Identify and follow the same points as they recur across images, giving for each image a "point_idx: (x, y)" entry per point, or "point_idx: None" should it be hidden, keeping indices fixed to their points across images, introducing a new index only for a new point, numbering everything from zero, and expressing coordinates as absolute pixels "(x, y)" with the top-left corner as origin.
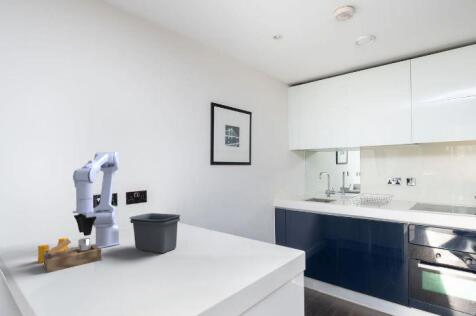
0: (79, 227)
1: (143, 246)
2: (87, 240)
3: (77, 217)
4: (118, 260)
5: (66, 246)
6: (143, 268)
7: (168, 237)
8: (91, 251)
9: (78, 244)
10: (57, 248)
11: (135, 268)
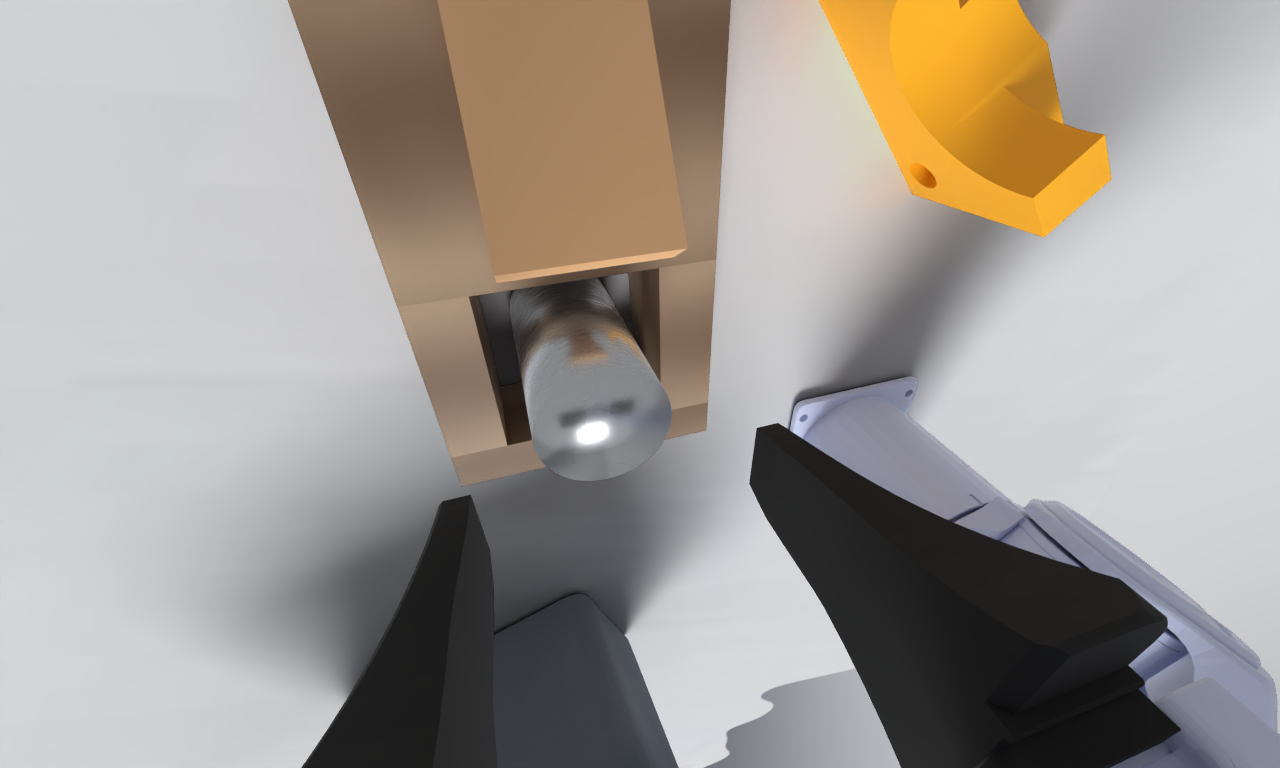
0: (808, 481)
1: (502, 654)
2: (539, 455)
3: (973, 646)
4: (364, 520)
5: (959, 199)
6: (19, 656)
7: None
8: (440, 416)
9: (584, 341)
10: (457, 40)
11: (44, 618)
